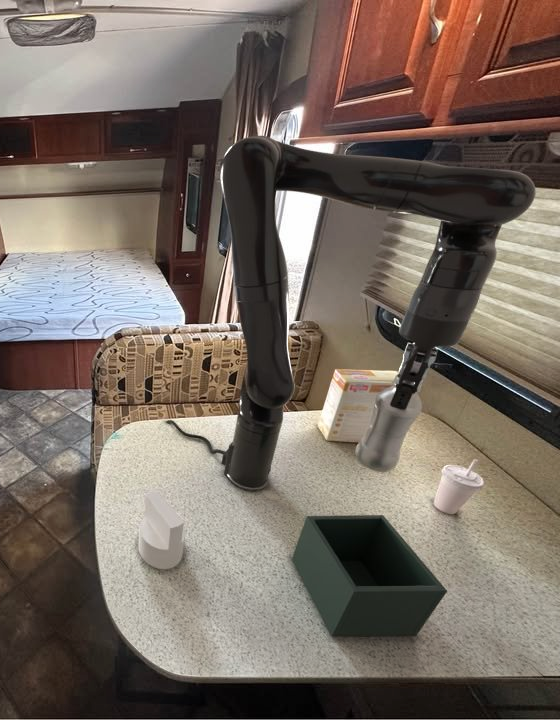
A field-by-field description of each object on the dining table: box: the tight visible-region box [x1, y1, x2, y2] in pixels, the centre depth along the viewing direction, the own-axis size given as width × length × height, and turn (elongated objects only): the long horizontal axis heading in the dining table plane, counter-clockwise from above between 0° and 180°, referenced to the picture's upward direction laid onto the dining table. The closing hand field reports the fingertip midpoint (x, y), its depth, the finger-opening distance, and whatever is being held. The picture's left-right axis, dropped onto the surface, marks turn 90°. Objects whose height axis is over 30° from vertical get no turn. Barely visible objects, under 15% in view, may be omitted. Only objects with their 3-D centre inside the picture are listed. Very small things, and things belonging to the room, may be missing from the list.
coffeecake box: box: [317, 368, 399, 443], centre depth 100 cm, size 15×7×20 cm, turn 80°
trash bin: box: [291, 514, 448, 638], centre depth 64 cm, size 14×14×13 cm
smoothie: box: [433, 458, 485, 515], centre depth 79 cm, size 6×6×14 cm
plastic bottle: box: [354, 372, 424, 473], centre depth 69 cm, size 6×7×20 cm
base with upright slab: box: [138, 489, 186, 570], centre depth 74 cm, size 9×9×12 cm
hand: (400, 399), depth 66 cm, fingers closed on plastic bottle, 6 cm apart
